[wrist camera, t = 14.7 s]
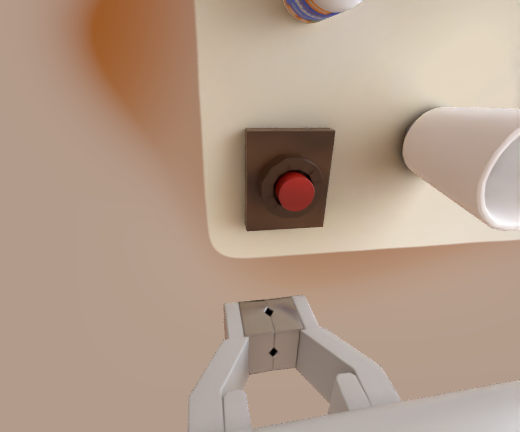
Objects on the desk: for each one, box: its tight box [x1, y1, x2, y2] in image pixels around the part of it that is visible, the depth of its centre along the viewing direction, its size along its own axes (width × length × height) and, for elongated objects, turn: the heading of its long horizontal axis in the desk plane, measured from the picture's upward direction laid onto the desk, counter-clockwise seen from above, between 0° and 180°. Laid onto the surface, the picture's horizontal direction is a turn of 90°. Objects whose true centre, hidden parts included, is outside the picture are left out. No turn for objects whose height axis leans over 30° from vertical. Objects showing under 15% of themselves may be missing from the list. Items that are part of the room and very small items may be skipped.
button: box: [275, 172, 314, 211], centre depth 31 cm, size 4×4×2 cm
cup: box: [402, 107, 520, 231], centre depth 29 cm, size 10×10×13 cm
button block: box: [245, 128, 335, 231], centre depth 33 cm, size 11×9×4 cm
